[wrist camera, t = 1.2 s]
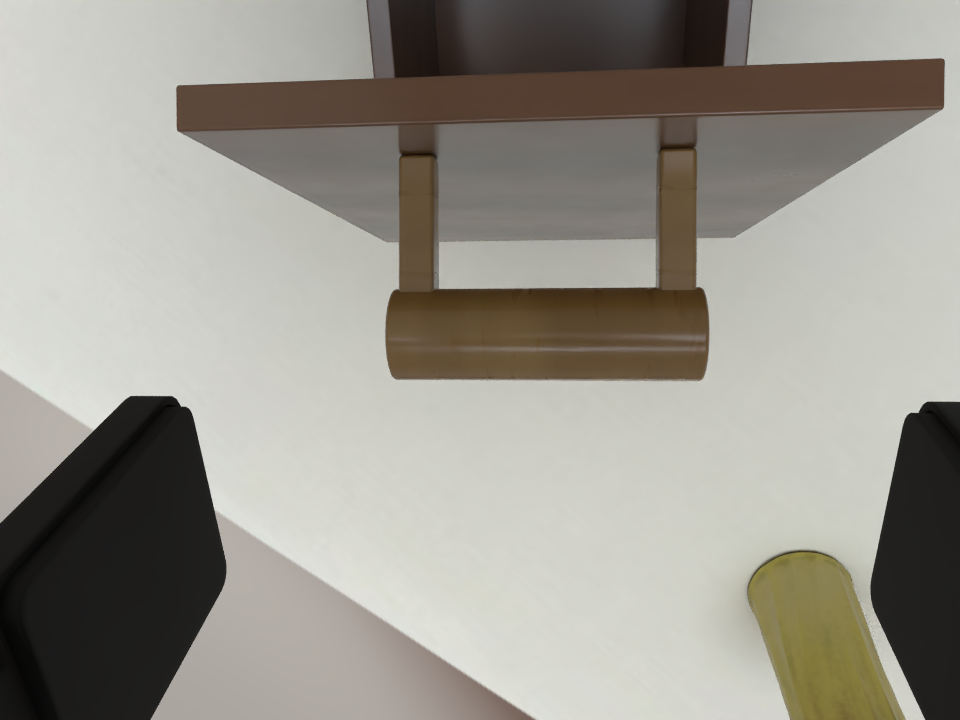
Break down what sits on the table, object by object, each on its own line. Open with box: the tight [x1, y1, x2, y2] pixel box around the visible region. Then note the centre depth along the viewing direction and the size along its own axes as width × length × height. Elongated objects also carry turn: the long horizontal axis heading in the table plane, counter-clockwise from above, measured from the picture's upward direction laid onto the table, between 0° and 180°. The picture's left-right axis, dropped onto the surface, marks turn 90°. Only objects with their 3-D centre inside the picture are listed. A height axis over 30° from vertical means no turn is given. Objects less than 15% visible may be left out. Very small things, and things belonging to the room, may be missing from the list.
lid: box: [176, 58, 945, 381], centre depth 22 cm, size 16×13×5 cm
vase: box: [748, 552, 906, 720], centre depth 44 cm, size 6×6×14 cm
